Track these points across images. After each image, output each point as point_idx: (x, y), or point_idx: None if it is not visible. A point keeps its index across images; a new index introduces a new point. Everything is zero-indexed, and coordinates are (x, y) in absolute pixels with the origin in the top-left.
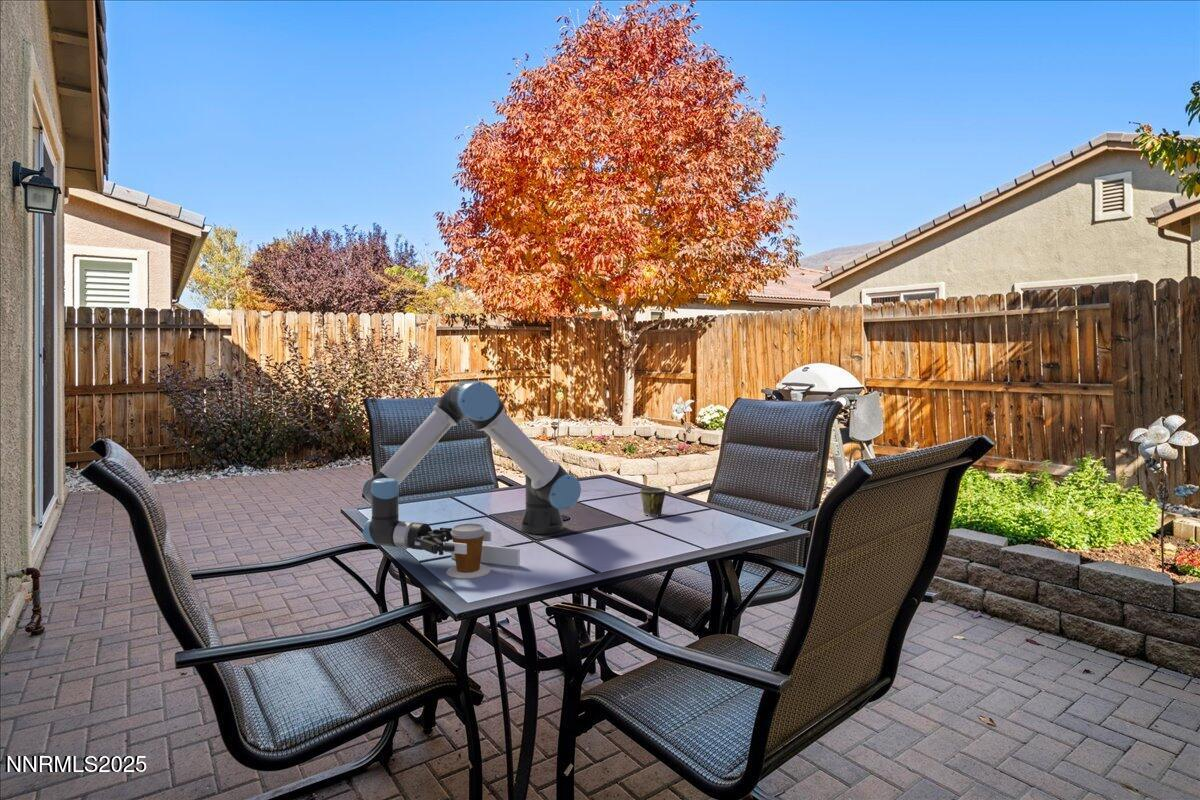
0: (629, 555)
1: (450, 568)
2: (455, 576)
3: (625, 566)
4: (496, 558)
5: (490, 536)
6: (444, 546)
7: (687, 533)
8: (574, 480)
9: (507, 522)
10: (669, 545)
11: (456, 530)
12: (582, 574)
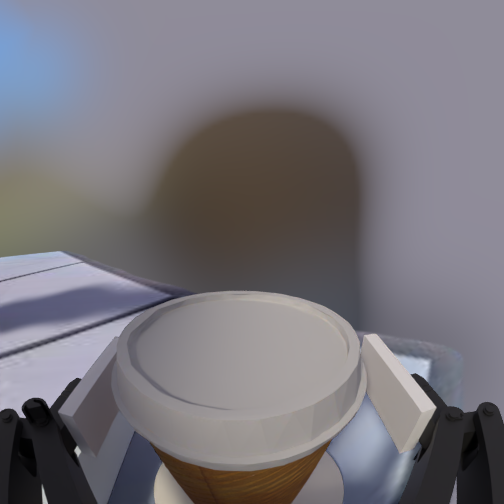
0: (92, 287)
1: None
2: (342, 483)
3: (142, 285)
4: (127, 422)
5: None
6: (441, 402)
7: (27, 269)
8: None
9: None
10: (62, 273)
11: (357, 344)
12: None
